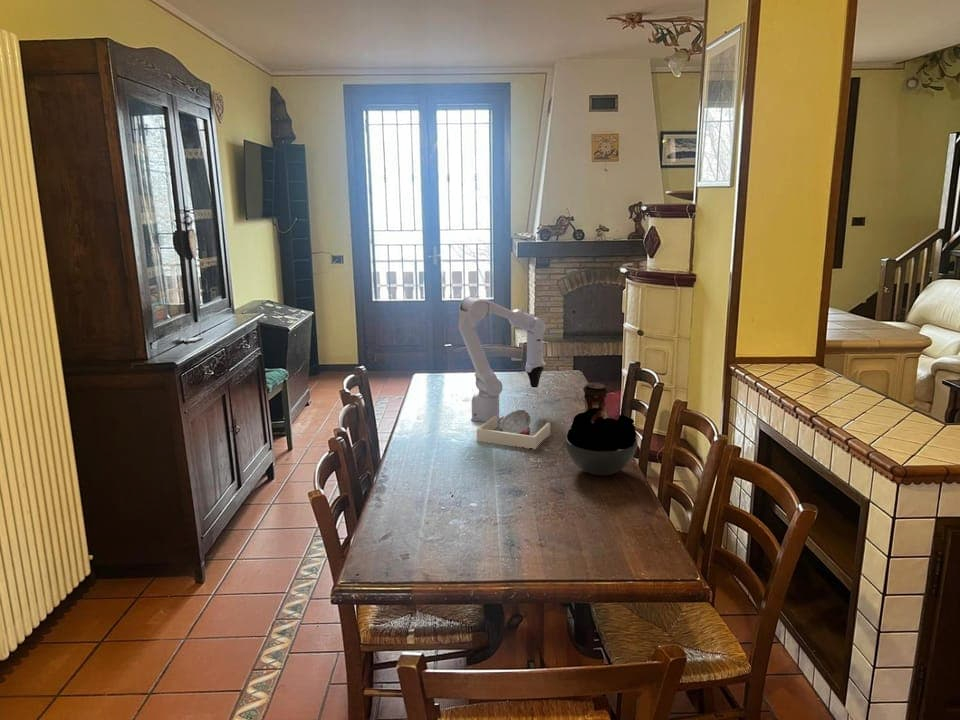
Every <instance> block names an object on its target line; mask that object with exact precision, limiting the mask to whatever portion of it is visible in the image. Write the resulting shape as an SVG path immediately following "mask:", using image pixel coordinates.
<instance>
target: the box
mask: <svg viewBox="0 0 960 720" xmlns="http://www.w3.org/2000/svg"><path fill="white" fill-rule="evenodd" d="M496 428H498V421H497V416H493V417H492V418H491V419H490V420H488V421H487V422H484V423H483V424H481V425H480V426H479V427H477V429H476V442H480V441H481V442H480V443H487V442H488V443H489V444H494V443H495V445H501V446H502V445H503V446H510V447H515V446H516V447H515V448H522V447H524V449H529V448H533V449H532V450H536V449H538V447H539V446H540V445H541V444H542V443H543V442H544V441H545V440H546V439H547V438H548V437H549V436H550V435H551V422H549V421H548V422H546V423H545V424H544V425H543V426H542V427H541V428H540V429H539V430H538V431H537V432H536V433H535V434H534V435H531V434H530V435H523V434H516V433H508V432H501V431H500V430H495V429H496ZM547 436H548V437H547ZM546 437H547V438H546ZM545 438H546V439H545ZM544 439H545V440H544ZM543 440H544V441H543ZM542 441H543V442H542ZM541 442H542V443H541ZM488 443H487V444H488ZM540 443H541V444H540ZM539 444H540V445H539ZM538 445H539V446H538ZM537 446H538V447H537Z"/></svg>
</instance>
